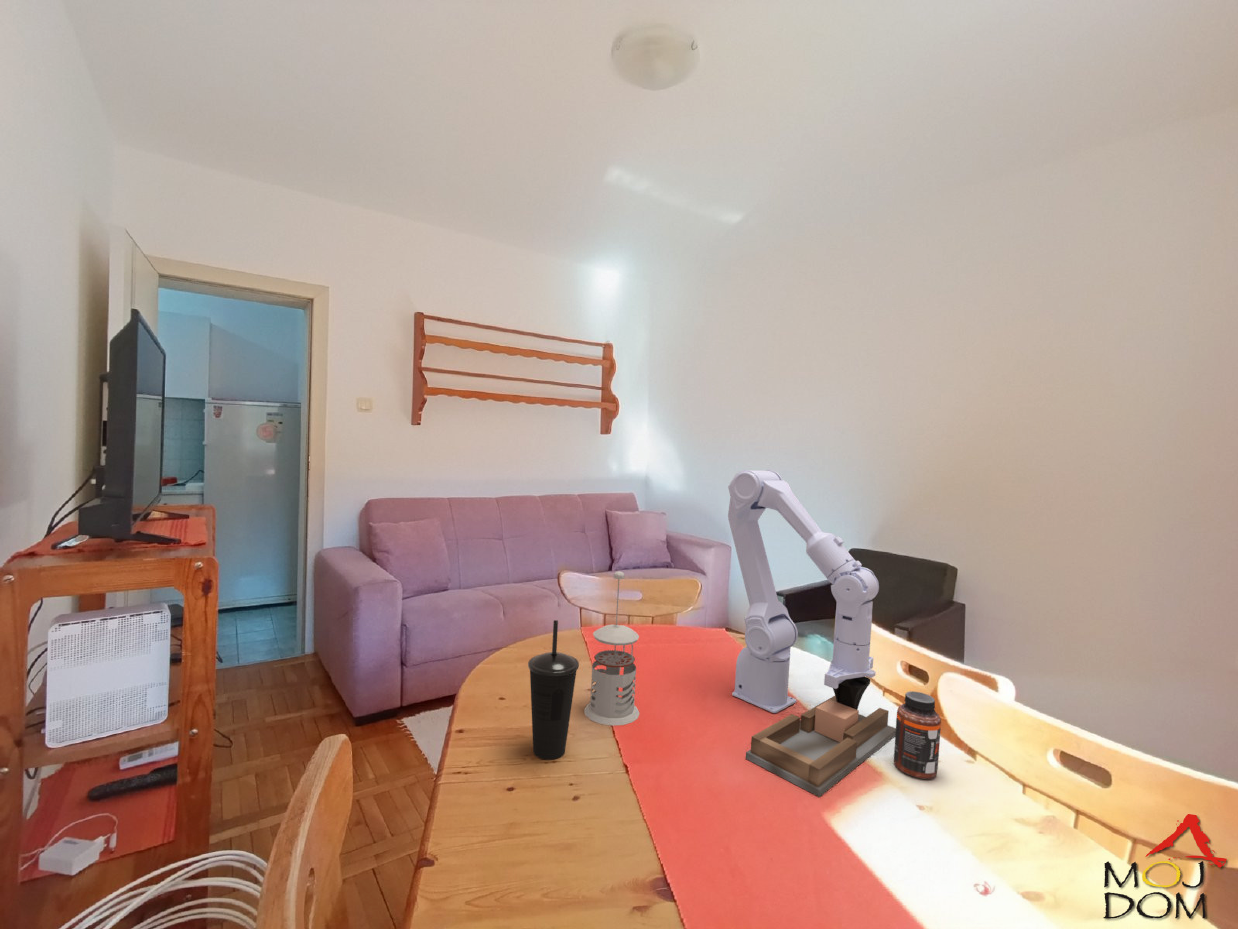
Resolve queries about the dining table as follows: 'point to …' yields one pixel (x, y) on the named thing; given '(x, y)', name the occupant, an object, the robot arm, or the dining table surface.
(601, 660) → the french press
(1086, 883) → the dining table surface
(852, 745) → the walled tray
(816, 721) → the block
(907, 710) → the supplement bottle
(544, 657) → the drinking cup
